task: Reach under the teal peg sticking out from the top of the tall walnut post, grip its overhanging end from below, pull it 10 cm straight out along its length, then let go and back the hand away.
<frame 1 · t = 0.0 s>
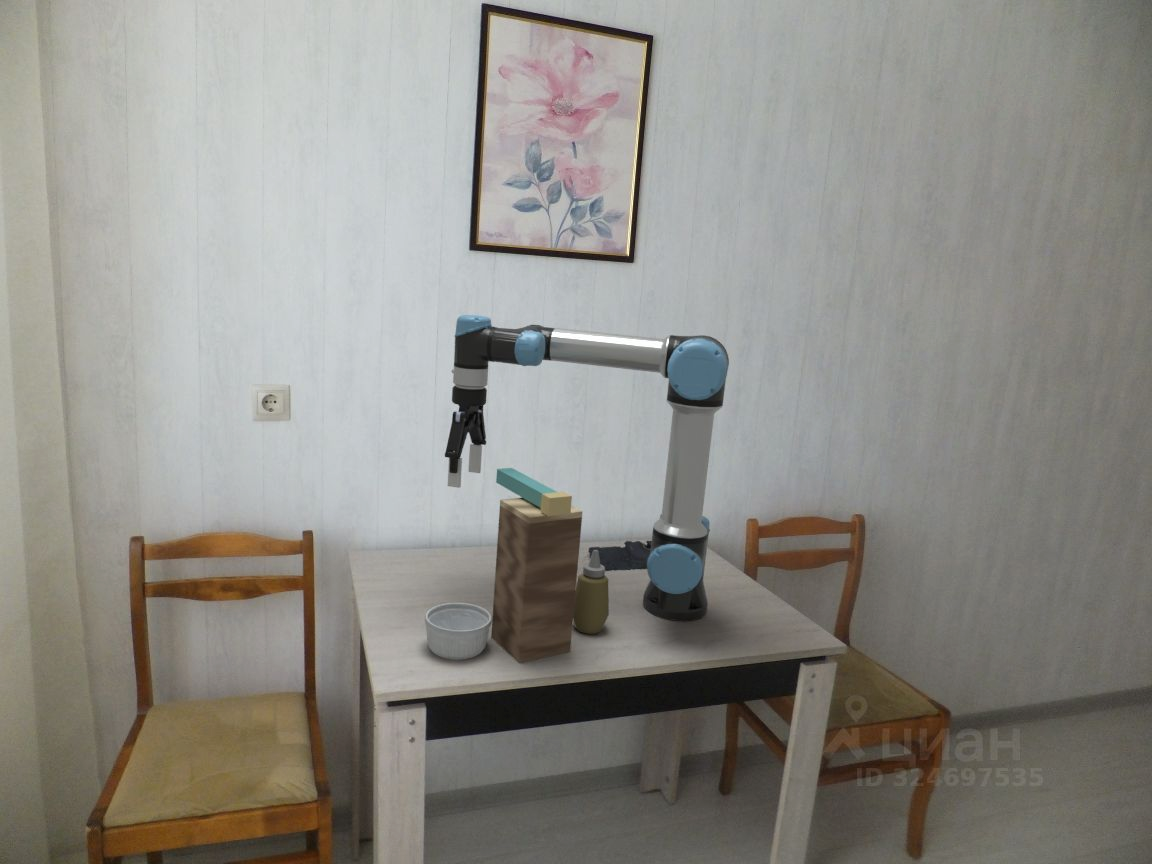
hand: (464, 479, 189), 28 cm above the table, tool pointing down, fingers open, 13 cm apart
post: (516, 632, 178), on the table
peg: (530, 489, 170), point 32 cm above the table, slide at 0.0 cm
ramekin: (456, 648, 169), on the table
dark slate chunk: (629, 561, 228), on the table
squeeze bottle: (588, 629, 183), on the table
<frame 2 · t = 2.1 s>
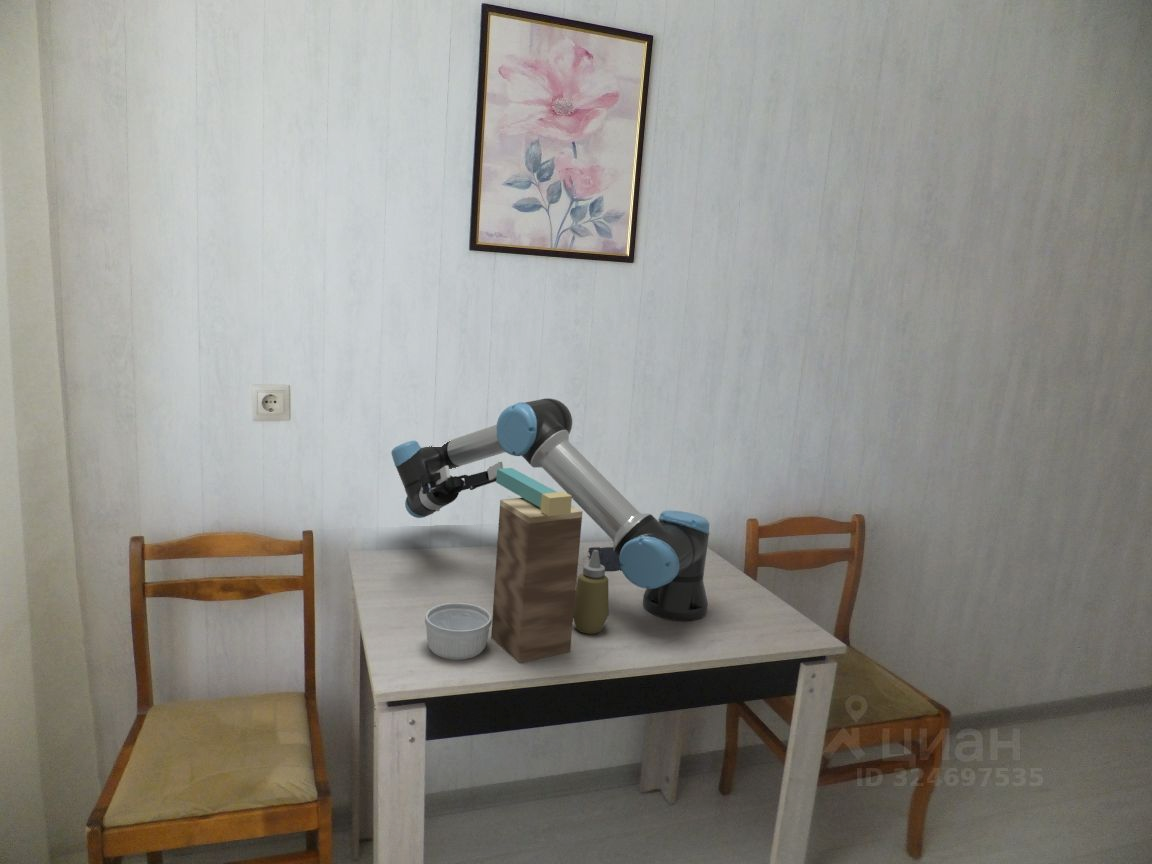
hand: (475, 469, 191), 30 cm above the table, tool pointing upward, fingers open, 13 cm apart
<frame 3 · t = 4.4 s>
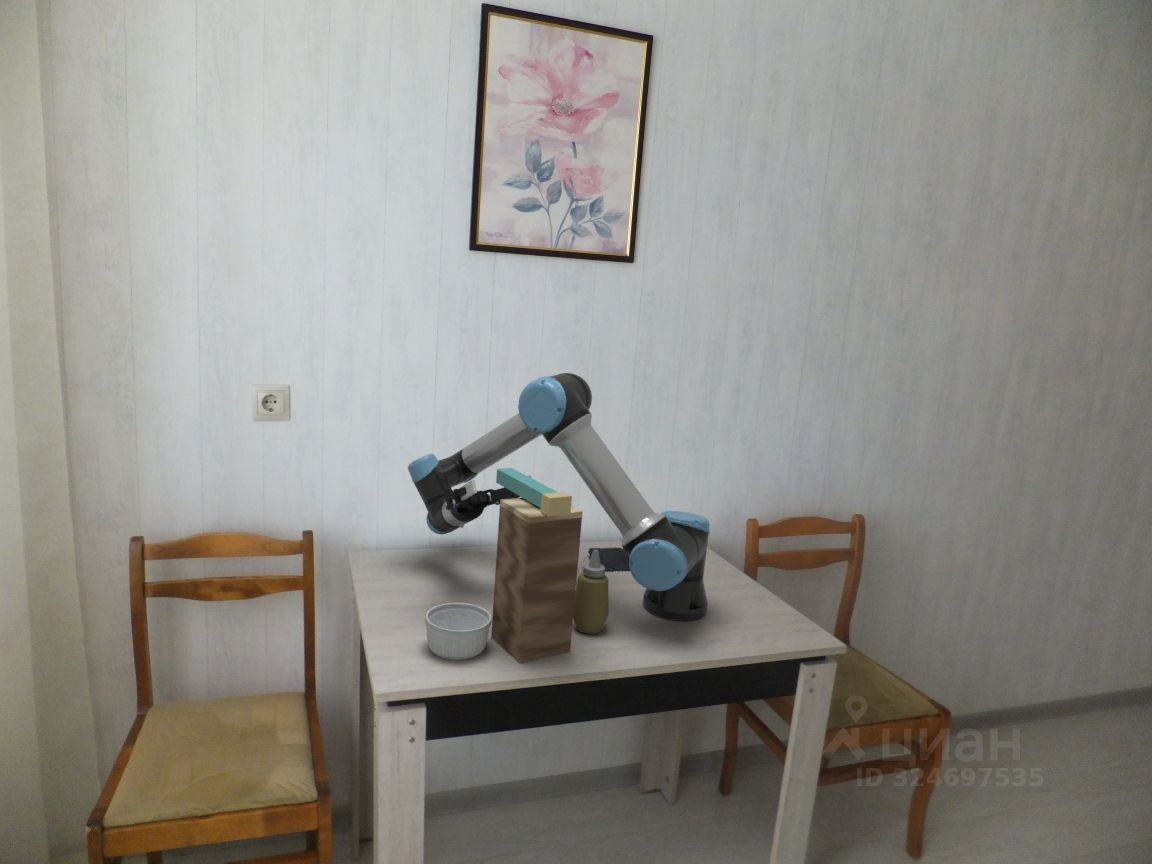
hand: (503, 483, 179), 30 cm above the table, tool pointing upward, fingers open, 13 cm apart
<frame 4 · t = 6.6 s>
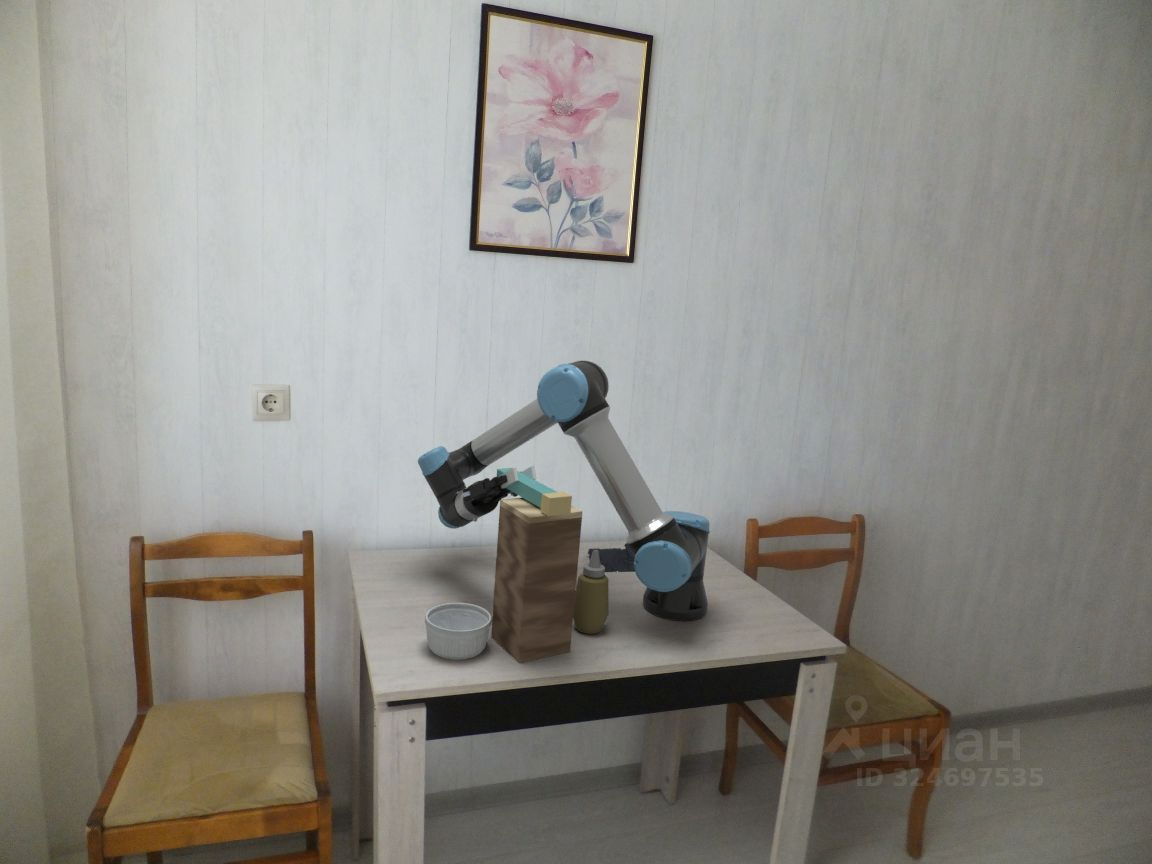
hand: (524, 473, 172), 35 cm above the table, tool pointing upward, fingers closed on peg, 3 cm apart
peg: (530, 489, 170), point 32 cm above the table, slide at 0.0 cm, touching gripper
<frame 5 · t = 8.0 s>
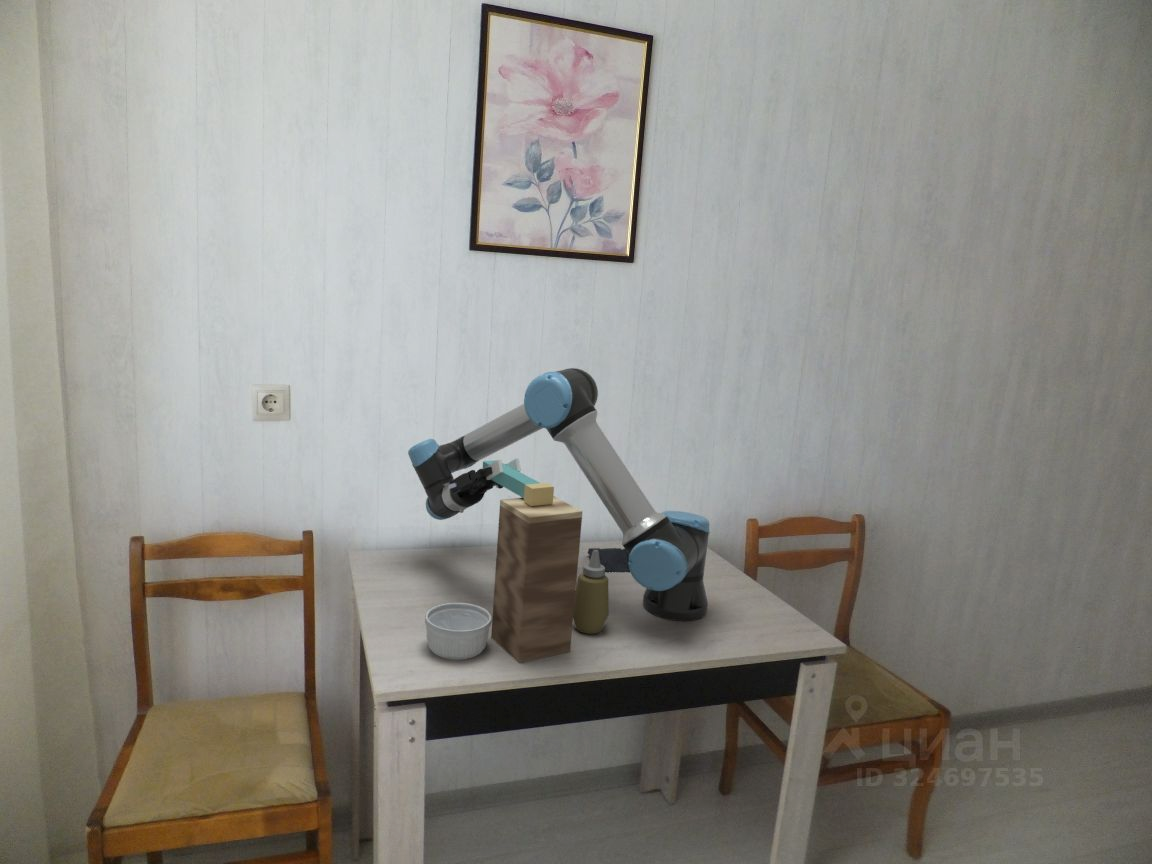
hand: (509, 465, 177), 35 cm above the table, tool pointing upward, fingers closed on peg, 4 cm apart
peg: (514, 481, 176), point 32 cm above the table, slide at 6.7 cm, touching gripper
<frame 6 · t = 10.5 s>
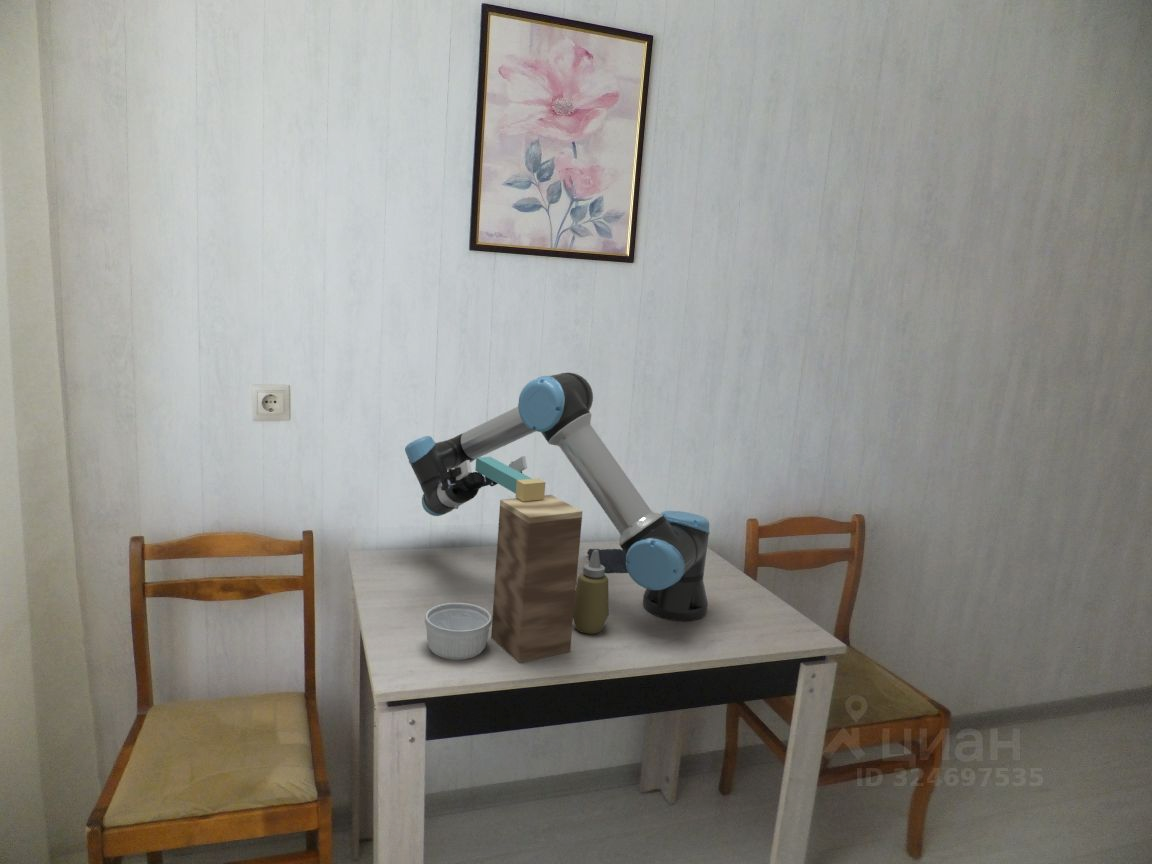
hand: (497, 464, 182), 34 cm above the table, tool pointing upward, fingers open, 13 cm apart
peg: (507, 476, 178), point 32 cm above the table, slide at 10.0 cm
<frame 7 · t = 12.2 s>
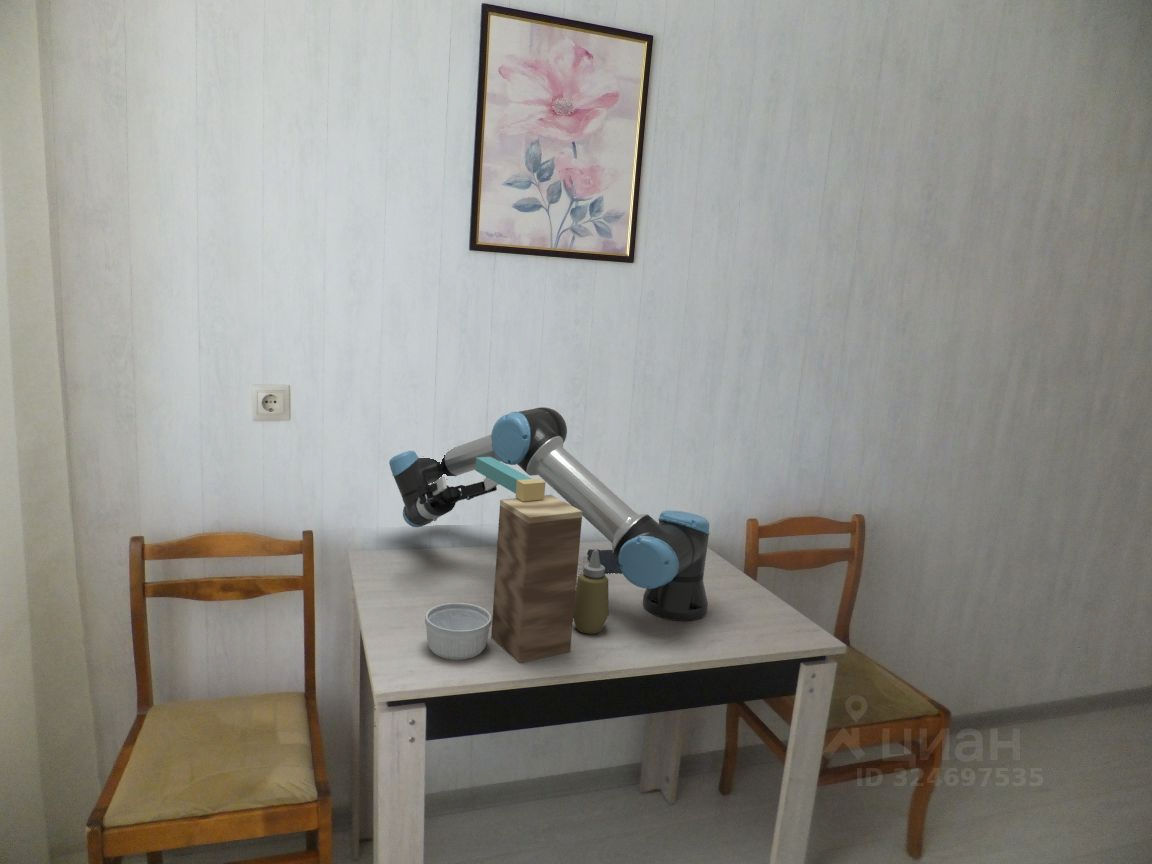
hand: (471, 480, 193), 27 cm above the table, tool pointing upward, fingers open, 13 cm apart
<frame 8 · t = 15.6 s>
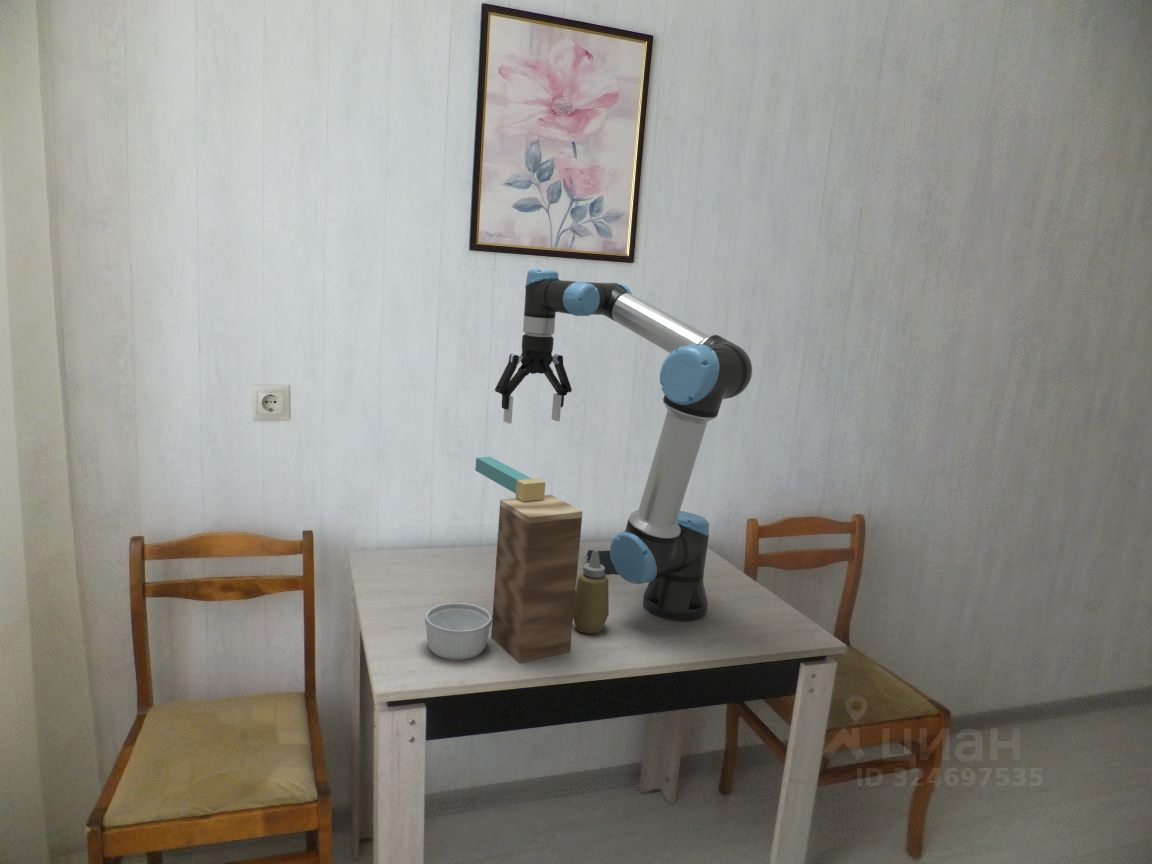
hand: (531, 421, 205), 39 cm above the table, tool pointing down, fingers open, 13 cm apart
at the end: peg slide at 10.0 cm; the gripper is holding nothing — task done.
